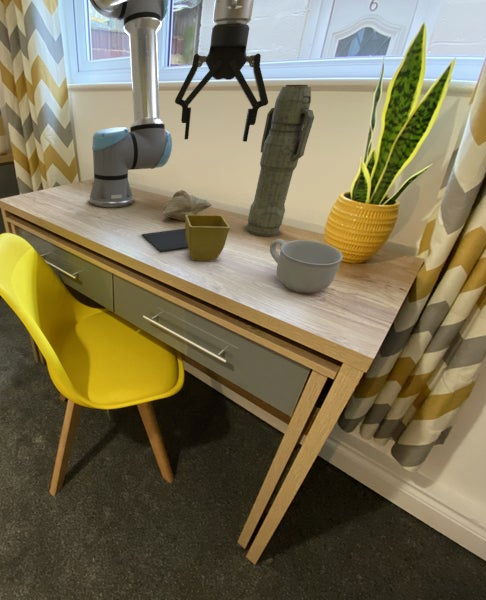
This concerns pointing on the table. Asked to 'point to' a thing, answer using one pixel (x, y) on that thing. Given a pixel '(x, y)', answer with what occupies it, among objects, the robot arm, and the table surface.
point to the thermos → (280, 157)
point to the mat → (167, 240)
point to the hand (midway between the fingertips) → (215, 140)
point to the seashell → (184, 205)
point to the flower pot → (205, 235)
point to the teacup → (306, 264)
